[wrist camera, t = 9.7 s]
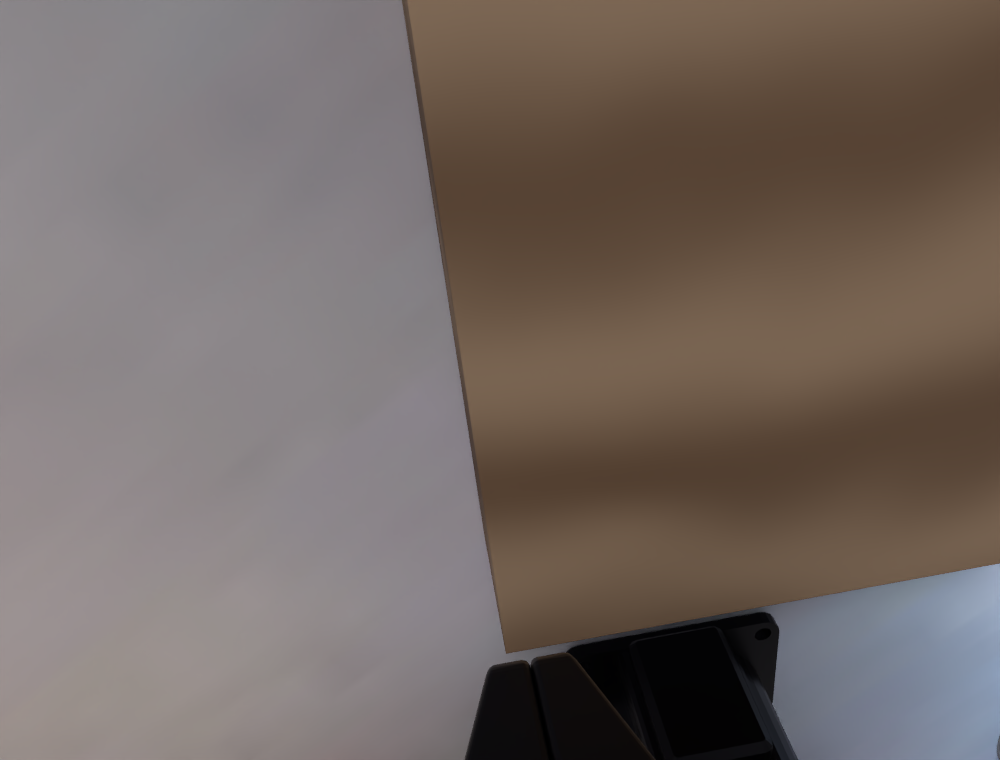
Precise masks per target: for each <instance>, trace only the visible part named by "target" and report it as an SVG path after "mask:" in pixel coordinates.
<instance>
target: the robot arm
mask: <svg viewBox="0 0 1000 760" xmlns="http://www.w3.org/2000/svg"><path fill="white" fill-rule="evenodd" d="M778 639H779V628H778V625H777V623H776V622H775V620H774V618H773V616H772V615H771V614H768V613H765V612H764V613H755V614H749V615H744V616H738V617H733V618H727V619H722V620H716V621H711V622H706V623H700V624H695V625H689V626H684V627H678V628H673V629H667V630H662V631H656V632H651V633H645V634H640V635H635V636H629V637H624V638H618V639H613V640H607V641H602V642H596V643H591V644H585V645H580V646H576V647H573V648H571V649H570V650H568V651H567V652H566V653H565V652H563V653H557V654H552V655H546V656H541V657H536V658H534V659H533V660H532V662H531V668H530V665H529V663H528V662H526V661H524V660H519V661H514V662H508V663H503V664H497V665H493V666H492V667H490V668H489V670H488V672H487V674H486V678H485V682H484V686H483V690H482V694H481V698H480V701H479V705H478V709H477V713H476V717H475V721H474V725H473V729H472V733H471V737H470V741H469V745H468V749H467V752H466V756H465V760H798V759H797V757H796V754H795V752H794V750H793V748H792V746H791V744H790V742H789V740H788V737H787V735H786V733H785V731H784V729H783V727H782V725H781V722H780V720H779V718H778V716H777V714H776V712H775V710H774V708H773V705H772V701H773V691H774V681H775V670H776V660H777V649H778ZM580 662H581V663H580Z"/></svg>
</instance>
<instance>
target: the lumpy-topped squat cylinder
mask: <svg viewBox="0 0 1000 760" xmlns="http://www.w3.org/2000/svg"><path fill="white" fill-rule="evenodd" d="M997 754H998V758H999V760H1000V736H999V739H998V744H997Z"/></svg>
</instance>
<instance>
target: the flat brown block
mask: <svg viewBox="0 0 1000 760" xmlns="http://www.w3.org/2000/svg"><path fill="white" fill-rule="evenodd" d="M402 3H403V10H404V16H405V23H406V29H407V36H408V42H409V49H410V55H411V62H412V68H413V75H414V81H415V88H416V94H417V100H418V107H419V113H420V120H421V126H422V133H423V139H424V146H425V152H426V159H427V165H428V172H429V178H430V185H431V191H432V198H433V204H434V211H435V217H436V224H437V230H438V237H439V243H440V250H441V256H442V263H443V269H444V276H445V282H446V289H447V295H448V302H449V308H450V315H451V321H452V328H453V334H454V340H455V347H456V353H457V360H458V366H459V373H460V379H461V386H462V392H463V399H464V405H465V412H466V418H467V425H468V431H469V438H470V444H471V451H472V457H473V464H474V470H475V477H476V483H477V490H478V496H479V503H480V509H481V516H482V522H483V529H484V535H485V541H486V546H487V552H488V557H489V563H490V568H491V574H492V579H493V585H494V590H495V596H496V601H497V607H498V612H499V618H500V623H501V629H502V634H503V640H504V645H505V651H506V654H507V653H512V652H518V651H523V650H528V649H534V648H539V647H545V646H550V645H556V644H561V643H567V642H572V641H578V640H583V639H589V638H594V637H600V636H605V635H611V634H616V633H621V632H627V631H632V630H638V629H643V628H649V627H654V626H660V625H665V624H671V623H676V622H682V621H687V620H693V619H698V618H703V617H709V616H714V615H720V614H725V613H731V612H736V611H742V610H747V609H753V608H758V607H764V606H769V605H775V604H780V603H785V602H791V601H796V600H802V599H807V598H813V597H818V596H824V595H829V594H835V593H840V592H846V591H851V590H857V589H862V588H868V587H873V586H878V585H884V584H889V583H895V582H900V581H906V580H911V579H917V578H922V577H928V576H933V575H939V574H944V573H950V572H955V571H960V570H966V569H971V568H977V567H982V566H988V565H993V564H999V563H1000V0H402Z"/></svg>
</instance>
